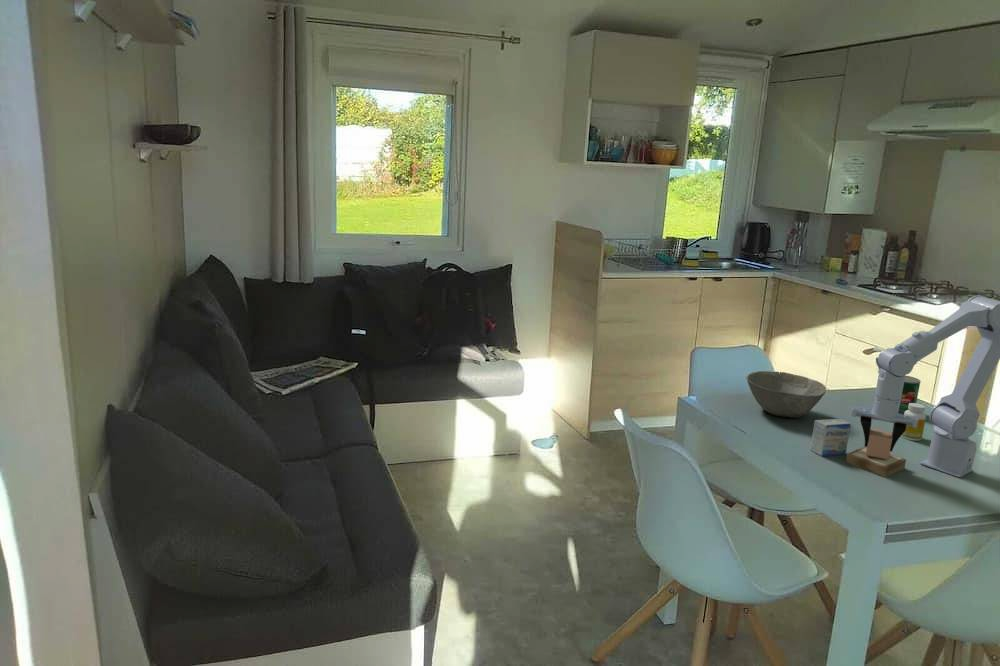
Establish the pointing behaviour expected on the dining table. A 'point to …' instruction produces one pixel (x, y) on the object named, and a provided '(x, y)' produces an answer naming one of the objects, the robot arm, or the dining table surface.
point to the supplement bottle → (913, 432)
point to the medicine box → (830, 437)
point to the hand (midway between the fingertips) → (878, 447)
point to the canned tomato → (909, 393)
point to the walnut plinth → (876, 462)
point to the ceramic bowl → (785, 392)
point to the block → (879, 443)
